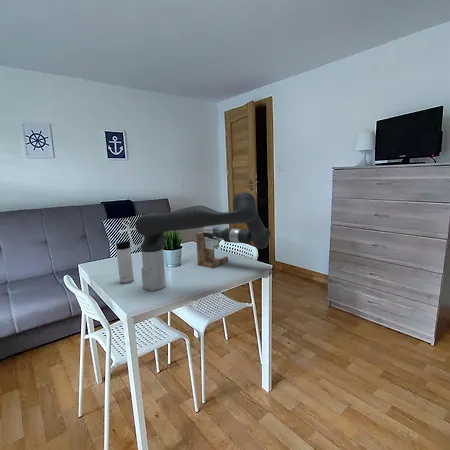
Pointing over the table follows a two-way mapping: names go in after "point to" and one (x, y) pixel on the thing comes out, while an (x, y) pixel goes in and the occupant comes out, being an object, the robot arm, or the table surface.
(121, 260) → the travel mug
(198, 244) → the board
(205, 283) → the table surface
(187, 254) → the table surface
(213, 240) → the syrup box
